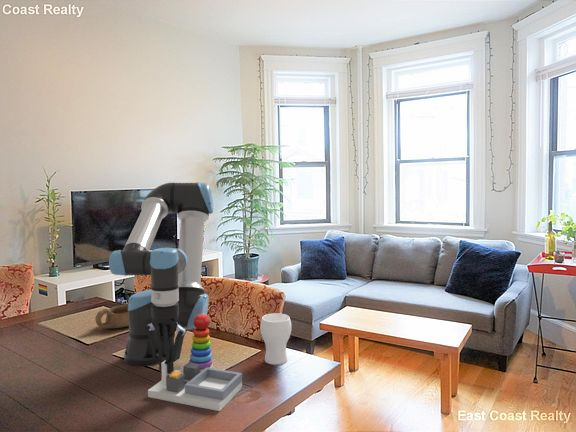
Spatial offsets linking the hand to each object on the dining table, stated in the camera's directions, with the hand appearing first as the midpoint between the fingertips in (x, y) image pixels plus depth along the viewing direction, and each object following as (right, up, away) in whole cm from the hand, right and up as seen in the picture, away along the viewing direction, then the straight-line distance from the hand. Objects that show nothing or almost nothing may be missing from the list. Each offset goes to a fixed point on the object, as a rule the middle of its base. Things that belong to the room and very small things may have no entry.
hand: (166, 383), depth 126 cm
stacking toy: (+7, -2, +16) cm, 18 cm away
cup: (+31, -2, +25) cm, 39 cm away
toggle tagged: (+3, -2, -1) cm, 3 cm away
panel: (+8, -3, +2) cm, 9 cm away
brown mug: (-36, +1, +57) cm, 68 cm away
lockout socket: (+14, -2, +1) cm, 14 cm away
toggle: (+6, -1, +6) cm, 9 cm away
